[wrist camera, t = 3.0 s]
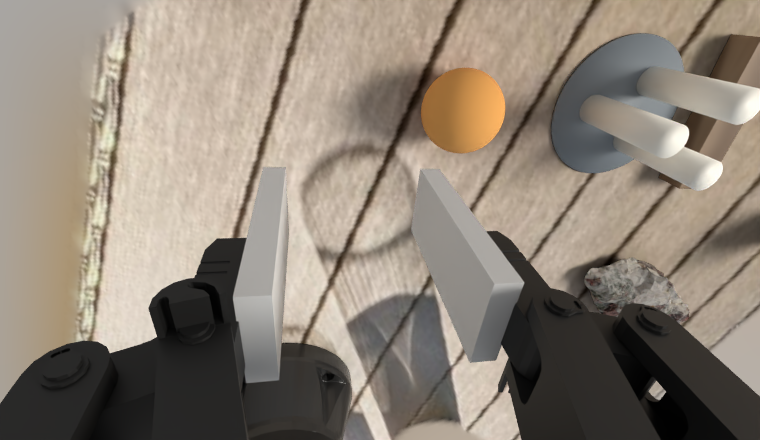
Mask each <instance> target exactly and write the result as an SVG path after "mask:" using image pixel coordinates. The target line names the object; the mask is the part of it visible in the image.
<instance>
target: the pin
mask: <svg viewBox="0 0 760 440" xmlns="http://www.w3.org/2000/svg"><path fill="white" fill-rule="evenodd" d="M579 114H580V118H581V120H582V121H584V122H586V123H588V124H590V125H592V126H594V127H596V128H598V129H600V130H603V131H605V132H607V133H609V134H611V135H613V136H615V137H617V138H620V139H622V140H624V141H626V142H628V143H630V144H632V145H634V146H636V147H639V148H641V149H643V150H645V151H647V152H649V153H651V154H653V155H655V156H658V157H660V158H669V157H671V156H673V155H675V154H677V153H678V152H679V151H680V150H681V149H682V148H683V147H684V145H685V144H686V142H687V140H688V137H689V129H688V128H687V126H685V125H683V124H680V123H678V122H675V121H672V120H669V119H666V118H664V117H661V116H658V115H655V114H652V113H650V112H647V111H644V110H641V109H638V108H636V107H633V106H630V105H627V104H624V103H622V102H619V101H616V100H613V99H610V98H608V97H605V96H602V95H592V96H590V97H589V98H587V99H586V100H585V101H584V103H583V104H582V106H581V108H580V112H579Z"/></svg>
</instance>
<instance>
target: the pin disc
mask: <svg viewBox="0 0 760 440" xmlns="http://www.w3.org/2000/svg"><path fill="white" fill-rule="evenodd" d="M654 66H658V67H663V68H667V69H672V70H676V71H681V72H684V68H683V63H682V59H681V57H680V54H679V53H678V51H677V49H676V48H675V47H674V46H673V45H672V44H671V43H670V42H669V41H668V40H666V39H664V38H662V37H660V36H657V35H653V34H643V33H638V34H631V35H627V36H623V37H620V38H618V39H615V40H613V41H611V42H609V43H607V44H605V45H604V46H602V47H600V48H599V49H598V50H596V51H595V52H594V53H592V54H591V55H590V56H589V57H588V58H587V59H585V60H584V61H583V62H582V63H581V64H580V66H579V67H578V68H577V69H576V70H575V71H574V73H573V74H572V75H571V77H570V78H569V79H568V81H567V83H566V84H565V86H564V87H563V89H562V91H561V93H560V95H559V97H558V100H557V103H556V105H555V109H554V112H553V117H552V124H551V135H552V142H553V145H554V148H555V150H556V153H557V154H558V156H559V157H560V159H561V160H562V161H563V162H564V163H565V164H567V165H568V166H570V167H571V168H573V169H575V170H577V171H581V172H585V173H600V172H606V171H610V170H613V169H616V168H618V167H621V166H623V165H625V164H627V163H629V162H630V161H632V160H633V159H634V158H632V157H630V156H628V155H626V154H624V153H622V152H620V151H618V150H616V149H615V148H614V146H613V140H614V137H615V136H613V135H611V134H609V133H607V132H605V131H603V130H600V129H598V128H596V127H594V126H592V125H590V124H588V123H586V122H584V121H582V120H581V118H580V114H579V112H580V108H581V106H582V104H583V103H584V101H585V100H586V99H587V98H589V97H590V96H592V95H602V96H605V97H608V98H610V99H613V100H616V101H619V102H622V103H624V104H627V105H630V106H633V107H636V108H638V109H641V110H644V111H647V112H650V113H652V114H655V115H658V116H661V117H664V118H666V119H669V120H671V119H672V117H673V115H674V114H675V112H676V109H677V106H674V105H671V104H668V103H664V102H661V101H658V100H655V99H652V98H648V97H645V96H642V95H640V94H639V93H638V92H637V82H638V79H639V78H640V76H641V75H642V73H643V72H644V71H646V70H647V69H648V68H650V67H654Z"/></svg>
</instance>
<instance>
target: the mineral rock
mask: <svg viewBox="0 0 760 440" xmlns="http://www.w3.org/2000/svg"><path fill="white" fill-rule="evenodd" d="M584 283H585V284H586V287H587V288H588V289H589V290H590V293H591V297H592V298H593V302H594V304H595V305H596V306H597V307H598V308H597V309H598V310H599V311H600V312H601V313H602V314H605V315H610V316H616V317H618V315H619V313H620V311H621V310H622V308H623V307H624V306H625V305H627V304H630V303H638V304H644V305H648V306H651V307H654V308H657V309H658V310H660V311H662V312H664V313H666V314H667V315H669V316H670V317H671V318H673V319H674V320H675V321H677V322H678V323H679V324H680V323H682V322H683V321H686V320H687V319H689V309H688V304H685V303H683V301H682V299H681V297H680V295H679V294H677V293H676V291H675V286H674V285H673V284H672V283H671V282H670V281H668V279H667V278H666V277H664V274H663V273H662V272H660V271H659V270H657V269H656V268H655V267H654V266H653V265H651V264H649V263H647V262H644V261H639V260H636V259H635V258H633V257H632V258H629V259H622V260H619V261H617V262H615V263H613V264H611V265H609V266H603V267H600V268H591V269H590V270H589V272H587V274H586V276H585V278H584Z"/></svg>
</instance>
